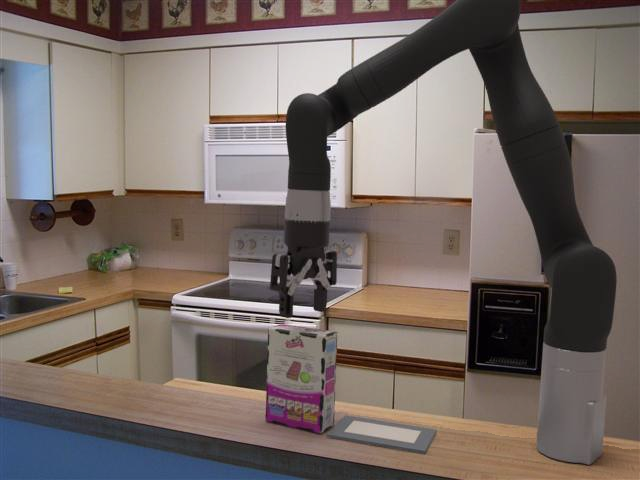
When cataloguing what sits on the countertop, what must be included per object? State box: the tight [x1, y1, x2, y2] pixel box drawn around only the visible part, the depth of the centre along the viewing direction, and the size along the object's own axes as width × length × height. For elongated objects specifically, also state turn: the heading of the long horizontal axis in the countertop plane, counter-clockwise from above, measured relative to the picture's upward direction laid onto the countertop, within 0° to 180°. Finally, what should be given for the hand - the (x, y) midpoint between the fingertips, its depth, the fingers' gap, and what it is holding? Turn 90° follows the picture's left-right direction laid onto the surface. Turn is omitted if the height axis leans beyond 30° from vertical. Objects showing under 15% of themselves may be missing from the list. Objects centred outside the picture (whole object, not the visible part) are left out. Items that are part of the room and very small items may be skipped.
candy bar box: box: [265, 323, 338, 434], centre depth 115 cm, size 11×5×16 cm, turn 62°
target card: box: [326, 414, 437, 455], centre depth 112 cm, size 16×10×1 cm, turn 70°
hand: (303, 314), depth 114 cm, fingers open, 8 cm apart
